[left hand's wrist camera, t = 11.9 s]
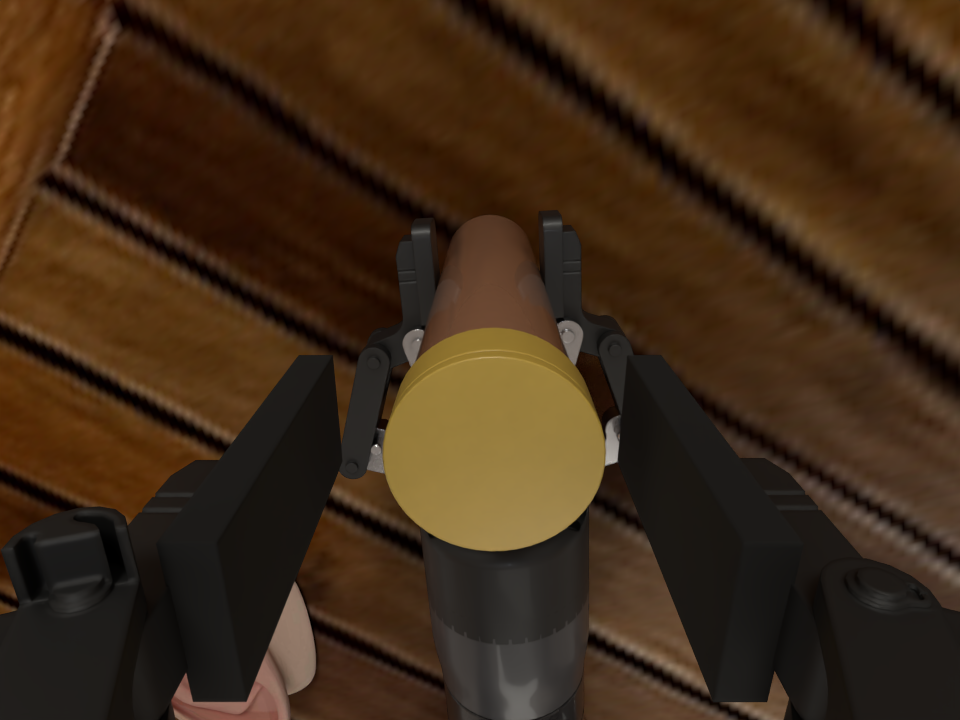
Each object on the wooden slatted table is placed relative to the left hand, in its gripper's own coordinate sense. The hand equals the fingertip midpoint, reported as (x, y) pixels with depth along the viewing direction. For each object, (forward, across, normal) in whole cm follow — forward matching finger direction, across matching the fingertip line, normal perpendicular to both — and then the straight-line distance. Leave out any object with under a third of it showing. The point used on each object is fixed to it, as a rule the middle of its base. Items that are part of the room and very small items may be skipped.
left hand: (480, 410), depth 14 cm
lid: (-2, 0, 0) cm, 2 cm away
